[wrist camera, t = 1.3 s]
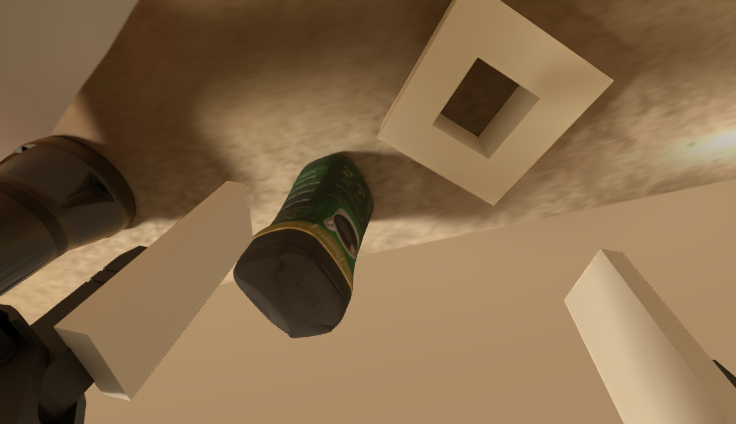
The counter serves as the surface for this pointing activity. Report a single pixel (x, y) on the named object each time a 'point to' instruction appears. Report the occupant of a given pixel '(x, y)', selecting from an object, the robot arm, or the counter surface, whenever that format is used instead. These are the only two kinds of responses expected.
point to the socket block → (516, 117)
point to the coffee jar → (309, 250)
